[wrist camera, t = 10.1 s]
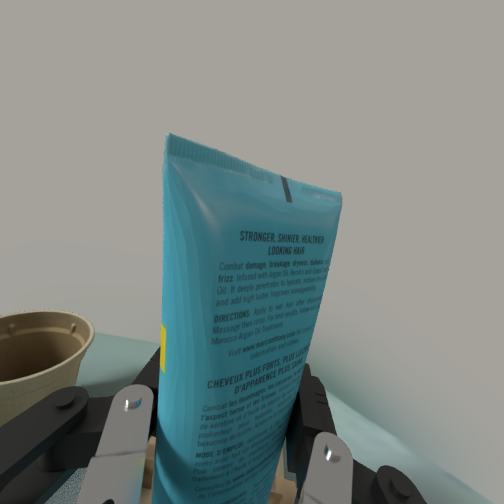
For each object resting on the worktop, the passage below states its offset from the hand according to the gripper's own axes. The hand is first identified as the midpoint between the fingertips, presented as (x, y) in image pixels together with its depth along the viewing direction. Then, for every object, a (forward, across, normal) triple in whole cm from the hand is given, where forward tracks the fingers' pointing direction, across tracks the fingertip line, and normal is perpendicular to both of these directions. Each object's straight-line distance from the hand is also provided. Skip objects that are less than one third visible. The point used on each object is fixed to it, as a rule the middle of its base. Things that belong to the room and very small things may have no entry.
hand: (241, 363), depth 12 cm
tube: (-3, 0, -10) cm, 11 cm away
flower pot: (+5, -17, -16) cm, 24 cm away
